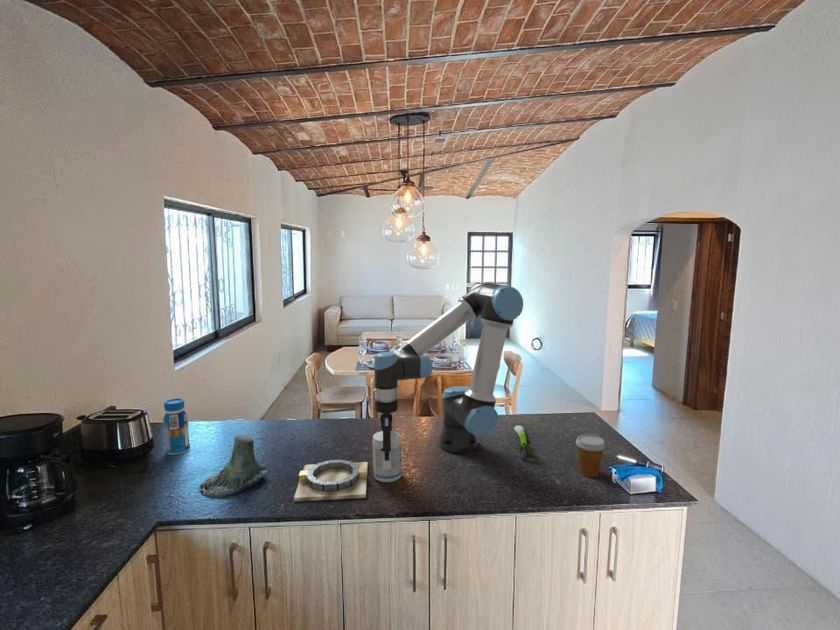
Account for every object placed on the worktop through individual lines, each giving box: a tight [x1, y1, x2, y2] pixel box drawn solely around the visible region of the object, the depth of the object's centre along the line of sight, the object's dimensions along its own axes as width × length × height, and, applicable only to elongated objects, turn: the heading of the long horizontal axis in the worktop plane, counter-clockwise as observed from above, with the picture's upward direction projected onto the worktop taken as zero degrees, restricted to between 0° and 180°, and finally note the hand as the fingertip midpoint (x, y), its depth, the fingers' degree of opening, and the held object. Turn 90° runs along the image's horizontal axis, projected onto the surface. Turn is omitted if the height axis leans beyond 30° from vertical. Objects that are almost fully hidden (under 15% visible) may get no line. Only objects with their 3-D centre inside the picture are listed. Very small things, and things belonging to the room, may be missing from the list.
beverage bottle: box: [162, 398, 191, 456], centre depth 181 cm, size 8×8×20 cm
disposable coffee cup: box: [575, 434, 606, 478], centre depth 162 cm, size 10×10×12 cm
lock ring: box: [298, 459, 368, 492], centre depth 157 cm, size 22×17×2 cm
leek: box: [513, 425, 534, 456], centre depth 186 cm, size 6×7×30 cm
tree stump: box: [199, 434, 268, 498], centre depth 158 cm, size 18×20×18 cm
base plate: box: [293, 461, 369, 502], centre depth 157 cm, size 22×22×1 cm
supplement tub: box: [372, 430, 403, 483], centre depth 160 cm, size 10×10×15 cm
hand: (386, 459), depth 160 cm, fingers open, 13 cm apart
